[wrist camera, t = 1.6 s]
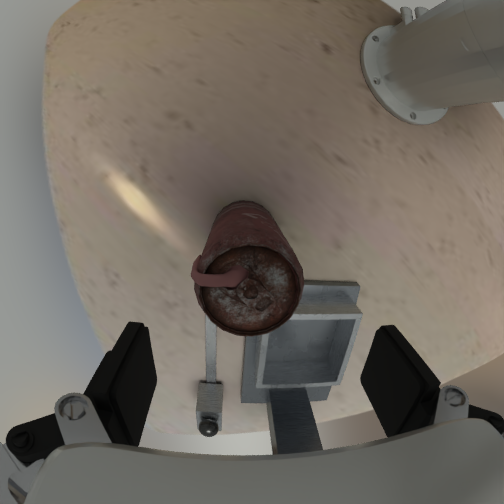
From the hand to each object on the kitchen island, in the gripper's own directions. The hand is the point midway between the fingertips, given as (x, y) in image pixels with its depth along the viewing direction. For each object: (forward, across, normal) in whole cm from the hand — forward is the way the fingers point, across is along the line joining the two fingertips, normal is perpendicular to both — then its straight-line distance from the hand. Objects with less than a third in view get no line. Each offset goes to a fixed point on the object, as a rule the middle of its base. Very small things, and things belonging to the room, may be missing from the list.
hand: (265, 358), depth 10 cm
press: (+18, -6, +14) cm, 24 cm away
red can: (+19, +1, -1) cm, 19 cm away
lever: (+18, +4, +21) cm, 28 cm away
